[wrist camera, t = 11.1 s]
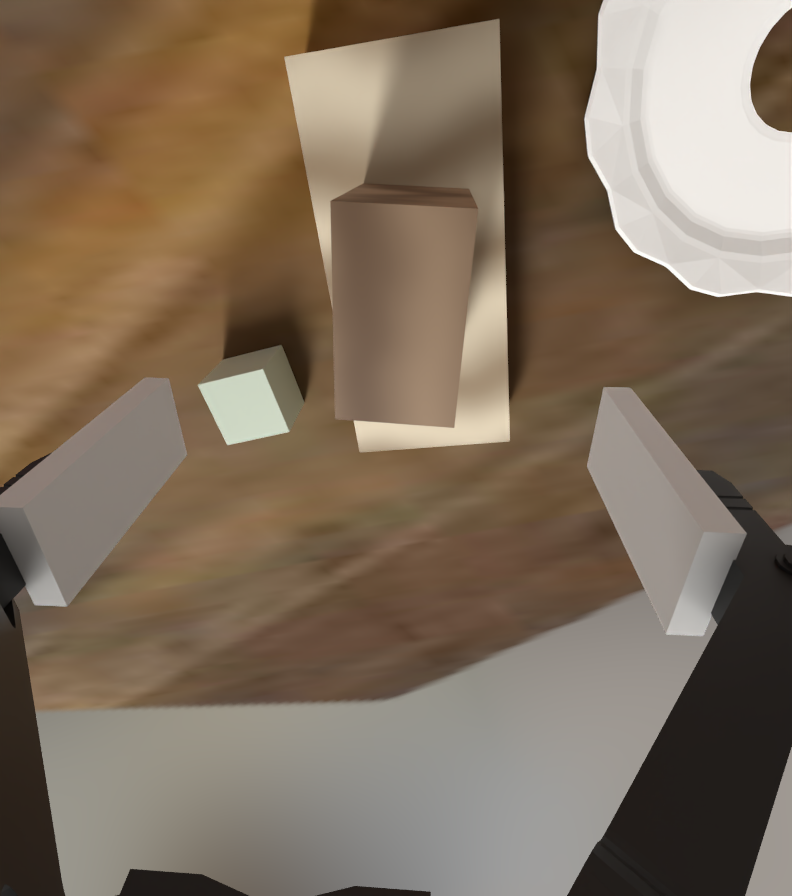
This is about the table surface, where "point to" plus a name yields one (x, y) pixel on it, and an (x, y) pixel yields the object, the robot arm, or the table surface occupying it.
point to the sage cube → (253, 395)
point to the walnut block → (400, 301)
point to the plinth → (419, 182)
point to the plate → (692, 142)
